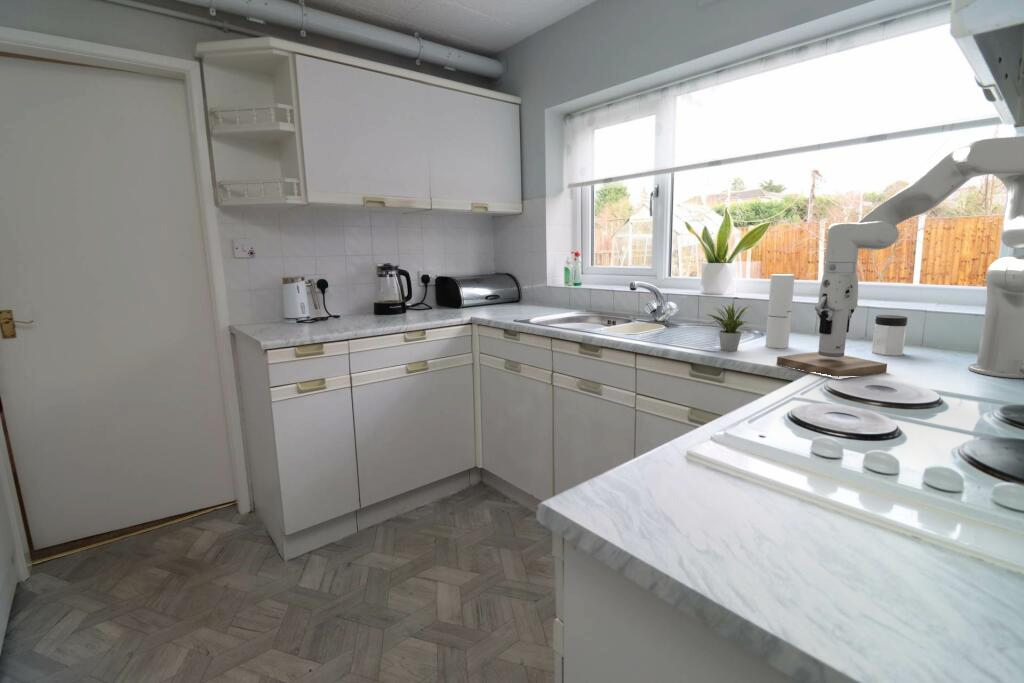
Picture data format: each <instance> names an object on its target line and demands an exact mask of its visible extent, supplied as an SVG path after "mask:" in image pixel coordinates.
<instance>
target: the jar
mask: <svg viewBox="0 0 1024 683" xmlns="http://www.w3.org/2000/svg"><path fill="white" fill-rule="evenodd" d="M908 319H909V318H908V317H907V316H904V315H895V314H894V315H893V314H879V315H876V316H875V320H874V321H875V324H874V328H873V337H872V338H873V339H872V344H871V345H872V346H871V353H873V354H876V355H877V354H878V355H884V356H902V355H903V354H904V350H905V340H906V333H907V327H908V325H907V324H908Z"/></svg>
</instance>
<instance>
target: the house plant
mask: <svg viewBox="0 0 1024 683" xmlns="http://www.w3.org/2000/svg"><path fill="white" fill-rule="evenodd" d="M721 306H722V308H724V309H725V312H726V314H725V312H724V311H723V310H722V309H720V308H718V307H714V306H713V309H714V310H716V311H717V312H718V313H719V314H720V315H721V316H722V318H721V317H719V316H716V315H712V314H706V315H707V316H709V317H712V318H711V319H712V320H713V319H714V321H711V322H710V324H713V323H718V324H719V325H720V326H721V327H722V328H723V329H722V330H719V331H718V335H719V345H720V350H721V351H725V352H737V351H738V348H739V345H740V340H741V336H742V331H739V330H738V328H740V327H741V326H744V325H745V326H746V324H747V322H746V320H741V319H742V316H743V314H744V313H745V311H746V310H748V308H751V307H752V305H749V306H746V307H745V306H744V305H742V306H739V308H737V310H736V311H735V306H734V303H732V306H730V305H729V304H727V308H726V307H725V305H723V304H722V303H721ZM710 307H712V306H710ZM743 307H744V308H743ZM741 308H743V309H741ZM740 309H741V310H740ZM739 310H740V312H739V313H738V311H739ZM737 313H738V315H737Z"/></svg>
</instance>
